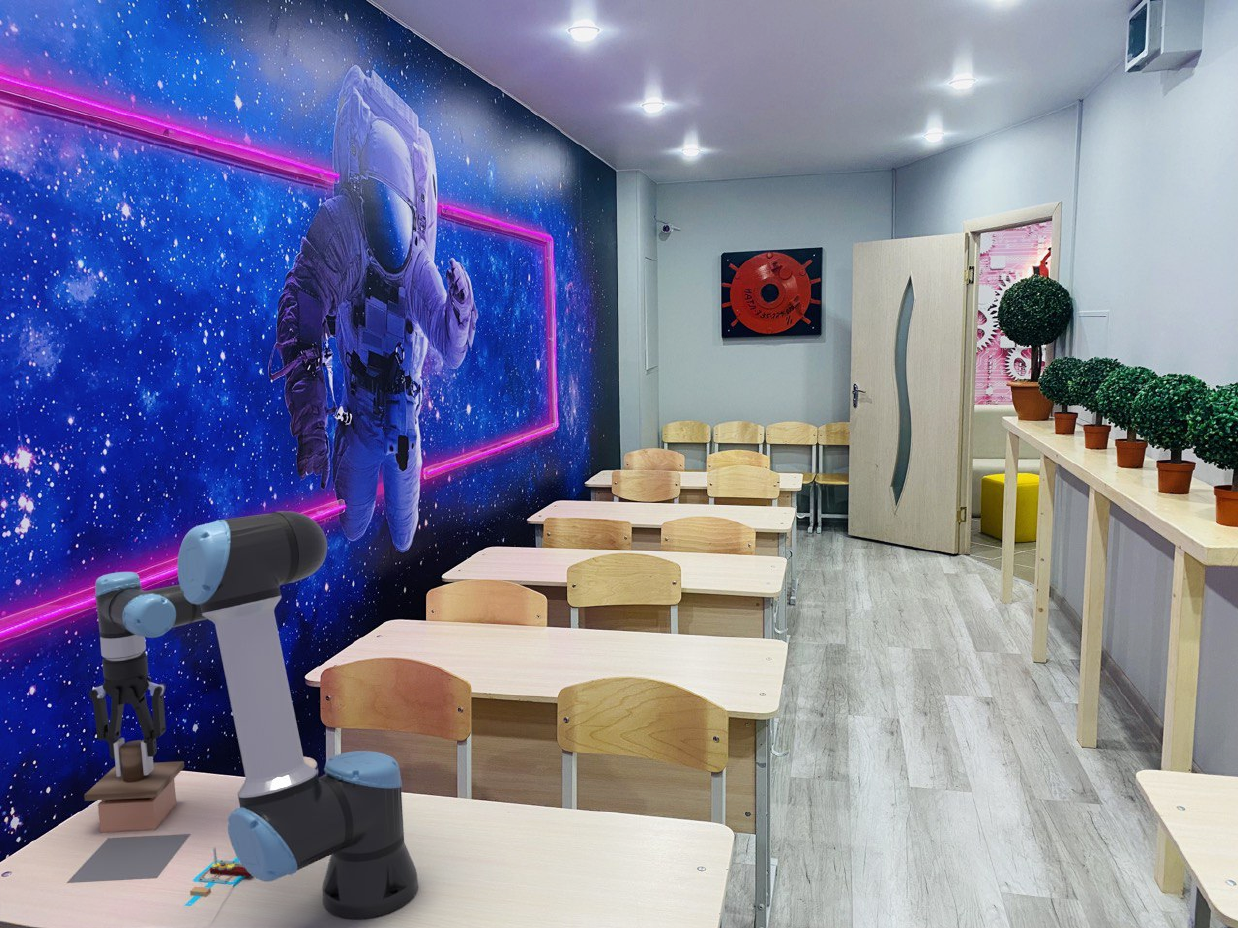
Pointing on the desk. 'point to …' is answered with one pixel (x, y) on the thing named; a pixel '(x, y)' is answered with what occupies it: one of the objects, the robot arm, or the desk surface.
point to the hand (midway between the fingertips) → (135, 772)
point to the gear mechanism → (218, 868)
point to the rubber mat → (130, 858)
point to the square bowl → (136, 811)
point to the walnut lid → (134, 777)
